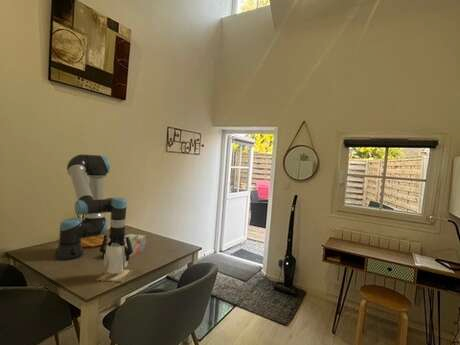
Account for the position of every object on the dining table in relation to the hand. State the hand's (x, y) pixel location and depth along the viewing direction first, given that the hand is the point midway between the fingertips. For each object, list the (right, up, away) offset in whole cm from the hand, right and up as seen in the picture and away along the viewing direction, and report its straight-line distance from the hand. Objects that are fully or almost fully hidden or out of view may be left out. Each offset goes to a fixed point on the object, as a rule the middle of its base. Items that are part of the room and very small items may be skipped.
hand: (115, 265), depth 139 cm
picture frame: (0, -6, 0) cm, 6 cm away
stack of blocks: (-4, -4, +34) cm, 34 cm away
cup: (0, -3, 0) cm, 3 cm away
